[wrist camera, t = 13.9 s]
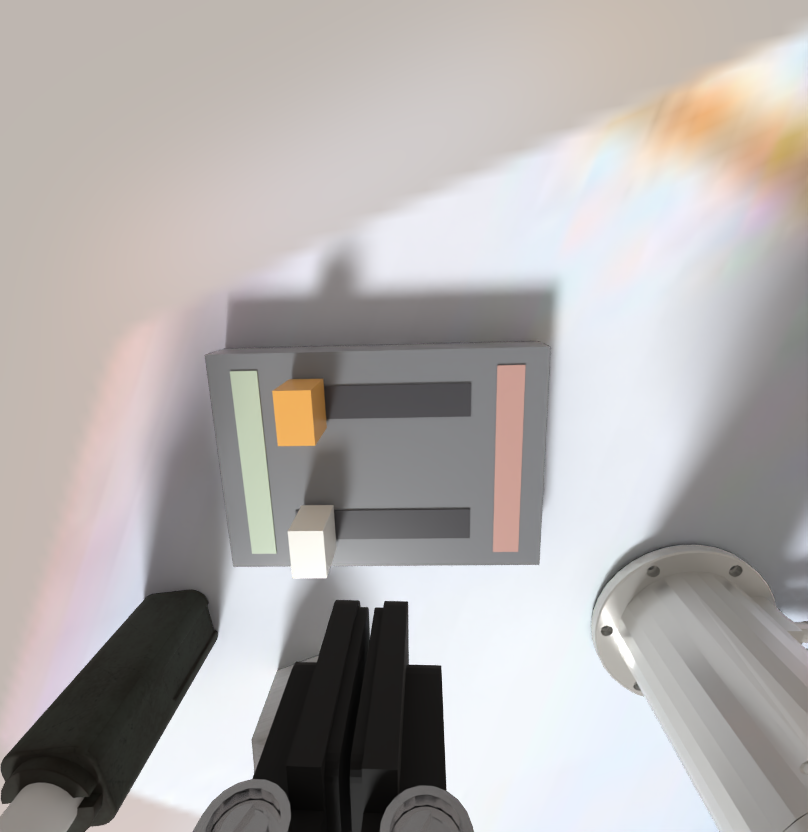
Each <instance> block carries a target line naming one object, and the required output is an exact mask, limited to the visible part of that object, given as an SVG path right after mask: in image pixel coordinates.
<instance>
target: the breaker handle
mask: <svg viewBox="0 0 808 832" xmlns="http://www.w3.org/2000/svg"><path fill="white" fill-rule="evenodd" d="M272 394H273V404H274V413H275V423H276V433H277V443H278V446H315V445H316V444H317V442H318V441H319V439H320V438H321V436H322V435H323V433H324V432H325V430H326V429H327V423H326V410H325V396H324V382H323V379H289V380H287V381H286V382H284V383H283V384H282V385H280V386H279V387H277V388H276V389H274V390H273V391H272Z"/></svg>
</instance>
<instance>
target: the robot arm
mask: <svg viewBox="0 0 808 832" xmlns="http://www.w3.org/2000/svg"><path fill="white" fill-rule="evenodd" d="M591 633H592V641H593V644H594V647H595V650H596V653H597V655H598V657H599V659H600V661H601V662H602V665H603V667H604V668H605V669H606V670H607V672H608V673H609V674H610V676H611V677H612V678H613V679H614V680H615V681H617V682H618V683H619V684H620V685H621V686H623V687H624V688H626V689H628V690H629V691H631V692H633V693H635V694H638V695H641V696H643V697H645V698H646V700H647V702H648V704H649V705H650V707H651V709H652V711H653V713H654V714H655V716H656V718H657V720H658V722H659V723H660V725H661V727H662V729H663V731H664V732H665V734H666V736H667V738H668V740H669V741H670V743H671V745H672V747H673V749H674V751H675V752H676V754H677V756H678V758H679V760H680V761H681V763H682V765H683V767H684V769H685V770H686V772H687V774H688V776H689V778H690V779H691V781H692V783H693V785H694V787H695V788H696V790H697V792H698V794H699V796H700V798H701V799H702V801H703V803H704V805H705V807H706V808H707V810H708V812H709V814H710V816H711V817H712V819H713V821H714V823H715V825H716V826H717V828H718V830H719V832H808V649H805V648H804V647H803V646H802V643H808V621H803V622H793V621H792V620H791V619H788V618H787V617H786V616H785V615H784V614H783V613H782V612H781V611H780V610H778V609H777V607H776V603H775V598H774V596H773V593H772V591H771V589H770V587H769V585H768V584H767V582H766V581H765V580H764V579H763V578H762V576H761V575H760V574H759V573H758V572H757V571H756V570H755V569H753V568H752V567H751V566H750V565H749V564H748V563H746V562H745V561H744V560H742V559H740V558H739V557H737V556H735V555H734V554H732V553H730V552H727V551H724V550H722V549H719V548H716V547H710V546H704V545H677V546H671V547H665V548H662V549H659V550H656V551H653V552H650V553H647V554H645V555H643V556H641V557H639V558H638V559H636V560H634V561H632V562H630V563H629V564H628V565H626V566H625V567H624V568H623V569H621V570H620V571H619V572H617V573H616V575H615V576H614V577H613V578H612V579H611V580H610V581H609V582H608V583H607V584H606V586H605V588H604V589H603V591H602V592H601V594H600V596H599V597H598V599H597V602H596V605H595V607H594V610H593V615H592V622H591ZM193 832H474V830H473V826H472V824H471V821H470V818H469V816H468V813H467V811H466V810H465V808H464V807H463V806H462V804H461V803H460V802H459V800H458V799H457V798H455V797H454V796H453V795H451V794H450V793H449V792H447V791H446V770H445V745H444V721H443V697H442V673H441V666H438V665H409V651H408V602H403V601H385V602H384V607H383V608H375V610H374V617H373V623H372V629H371V635H369V609H368V607H360V601H353V600H336V601H335V603H334V606H333V609H332V613H331V616H330V619H329V623H328V626H327V630H326V633H325V636H324V640H323V643H322V646H321V650H320V653H319V657H318V660H317V662H296V663H295V664H294V666H293V668H292V670H291V673H290V676H289V678H288V681H287V684H286V687H285V690H284V692H283V695H282V698H281V701H280V703H279V706H278V709H277V712H276V715H275V717H274V720H273V723H272V726H271V729H270V731H269V734H268V737H267V740H266V743H265V745H264V748H263V751H262V754H261V757H260V759H259V762H258V765H257V768H256V770H255V773H254V776H253V779H251V780H247V781H244V782H240V783H237V784H235V785H234V786H232V787H230V788H228V789H226V790H225V791H223V792H222V793H221V794H220V795H219V796H218V797H217V798H215V799H214V800H213V801H212V802H211V804H210V805H209V806H208V808H207V809H206V810H205V812H204V813H203V815H202V816H201V818H200V820H199V821H198V823H197V825H196V827H195V829H194V830H193Z"/></svg>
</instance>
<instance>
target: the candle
mask: <svg viewBox="0 0 808 832" xmlns="http://www.w3.org/2000/svg"><path fill="white" fill-rule="evenodd" d="M207 604H208V600H207V598H206V597H205V596H204V595H203V594H202V593H200V592H198V591H195V590H184V591H175V592H166V593H158V594H152V595H149V596H147V597H146V598H145V599H144V600H143V602H142V603H141V604H140V605H139V606H138V607H137V608H136V609H135V611H134V612H133V613H132V614H131V615H130V616H129V617H128V619H127V620H126V621H125V622H124V623H123V624H122V625H121V626H120V628H119V629H118V630H117V631H116V632H115V633H114V634H113V635H112V637H111V638H110V639H109V640H108V641H107V642H106V643H105V645H104V646H103V647H102V648H101V649H100V650H99V651H98V652H97V654H96V655H95V656H94V657H93V658H92V659H91V660H90V661H89V663H88V664H87V665H86V666H85V667H84V668H83V669H82V670H81V672H80V673H79V674H78V675H77V676H76V677H75V678H74V680H73V681H72V682H71V683H70V684H69V685H68V686H67V687H66V689H65V690H64V691H63V692H62V693H61V694H60V695H59V696H58V698H57V699H56V700H55V701H54V702H53V703H52V704H51V706H50V707H49V708H48V709H47V710H46V711H45V712H44V713H43V715H42V716H41V717H40V718H39V719H38V720H37V721H36V722H35V724H34V725H33V726H32V727H31V728H30V729H29V730H28V731H27V733H26V734H25V735H24V736H23V737H22V738H21V739H20V741H19V742H18V743H17V744H16V745H15V746H14V747H13V748H12V750H11V751H10V752H9V753H8V754H7V755H6V756H5V757H4V759H3V760H2V763H1V773H2V776H3V778H4V780H5V784H4V786H3V788H2V790H1V801H2V804H8V803H11V804H10V805H9V806H8V808H7V809H6V810H5V811H4V812H3V814H2V815H1V816H0V832H85V831H86V830H87V829H88V828H89V827H90V826H100V825H104V824H107V823H109V822H110V821H111V820H112V819H113V818H114V817H115V815H116V813H117V812H118V810H119V808H120V806H121V805H122V803H123V801H124V800H125V798H126V796H127V794H128V793H129V791H130V789H131V788H132V786H133V784H134V782H135V781H136V779H137V777H138V775H139V774H140V772H141V770H142V768H143V767H144V765H145V763H146V762H147V760H148V758H149V756H150V755H151V753H152V751H153V749H154V748H155V746H156V744H157V742H158V741H159V739H160V737H161V736H162V734H163V732H164V730H165V729H166V727H167V725H168V723H169V722H170V720H171V718H172V716H173V715H174V713H175V711H176V710H177V708H178V706H179V704H180V703H181V701H182V699H183V697H184V696H185V694H186V692H187V690H188V689H189V687H190V685H191V684H192V682H193V680H194V678H195V677H196V675H197V673H198V671H199V670H200V668H201V666H202V665H203V663H204V661H205V659H206V658H207V656H208V654H209V652H210V651H211V649H212V647H213V645H214V644H215V642H216V640H217V631H215V630H214V628H213V625H212V622H211V618H210V615H209V611H208V608H207Z"/></svg>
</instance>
